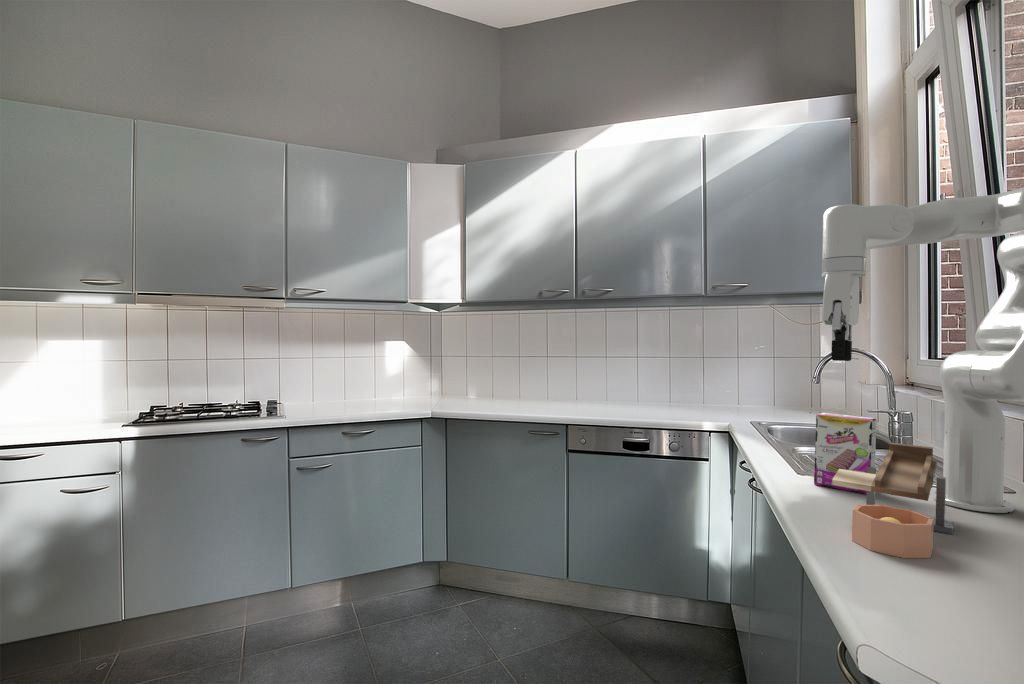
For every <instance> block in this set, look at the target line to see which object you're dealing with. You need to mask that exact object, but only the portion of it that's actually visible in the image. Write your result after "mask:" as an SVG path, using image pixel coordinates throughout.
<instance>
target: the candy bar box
mask: <svg viewBox="0 0 1024 684" xmlns="http://www.w3.org/2000/svg"><path fill="white" fill-rule="evenodd" d="M815 417H816V418H815V443H814V445H815V446H814V447H815V448H814V449H815V450H814V470H813V471H814V472H813V473H814V475H813V480H814V481H813V485H815V486H819V487H820V486H821V487H822V486H823V487H827V488H832V489H836V490H842V491H849V492H854V493H858V494H864V495H867V491H866V490H860V489H854V488H848V487H842V486H836V485H832V479H833V478H834V476H835V474H836V473H837V471H838V470H839V469H844V470H851V471H857V472H864V473H867V468H868V467H876V447H877V418H875V417H867V416H857V415H856V416H855V415H849V414H839V413H831V412H819V413H817V414H816V416H815Z"/></svg>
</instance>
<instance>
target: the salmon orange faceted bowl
mask: <svg viewBox="0 0 1024 684" xmlns="http://www.w3.org/2000/svg"><path fill="white" fill-rule="evenodd" d="M884 517H891V518H894V519H896V520H898V521H899V522H901V523H896V522H891V521H886V520H881V518H884ZM933 518H934V517H930V516H927V515H925V514H921V513H920V512H917V511H915V510H912V509H907V508H900V507H894V506H888V505H885V504H875V505H866V504H857V505H856V506H855V507H854V508H853V509H852V526H851V528H852V529H851V531H852V532H851V541H852V542H854V543H855V544H858V545H860V546H861V547H863V548H865V549H867V550H869V551H870V552H874V553H876V552H877V553H880V554H883V555H889V556H893V557H898V558H902V559H931V557H932V554H933V550H934V531H933V520H934V519H933Z"/></svg>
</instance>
